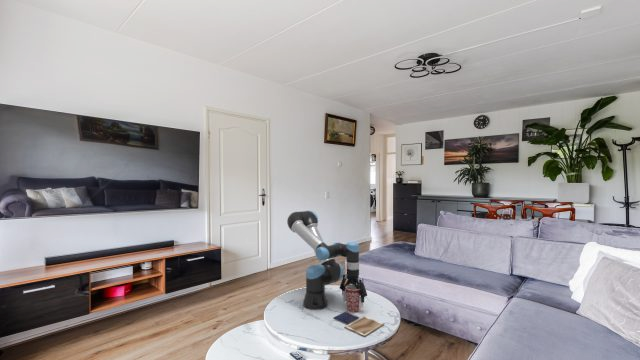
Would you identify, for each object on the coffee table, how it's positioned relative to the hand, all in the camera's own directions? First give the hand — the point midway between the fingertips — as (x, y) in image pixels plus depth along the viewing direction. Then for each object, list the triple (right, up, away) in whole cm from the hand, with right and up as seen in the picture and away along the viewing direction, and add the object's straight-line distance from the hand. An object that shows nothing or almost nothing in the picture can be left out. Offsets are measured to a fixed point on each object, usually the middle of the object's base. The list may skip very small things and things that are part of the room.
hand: (352, 304), depth 173 cm
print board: (+3, -2, -22) cm, 22 cm away
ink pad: (-5, -2, -13) cm, 14 cm away
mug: (0, -3, 0) cm, 3 cm away
